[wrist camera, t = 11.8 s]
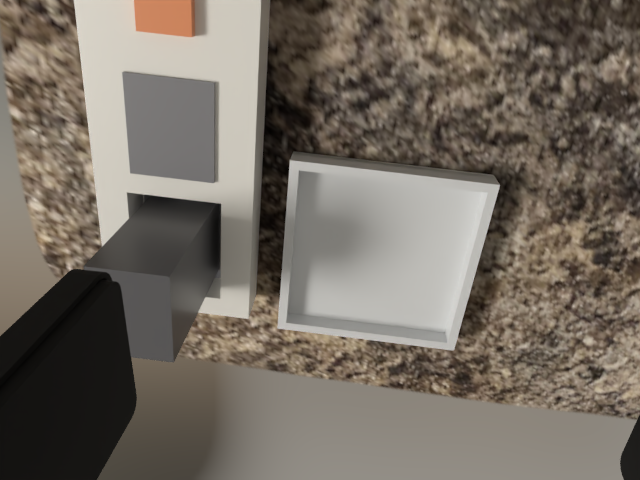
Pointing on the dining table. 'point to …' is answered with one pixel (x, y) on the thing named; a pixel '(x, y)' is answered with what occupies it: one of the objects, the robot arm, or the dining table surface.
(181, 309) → the plug
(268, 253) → the dining table surface
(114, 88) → the power strip
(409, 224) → the tray
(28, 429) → the robot arm
